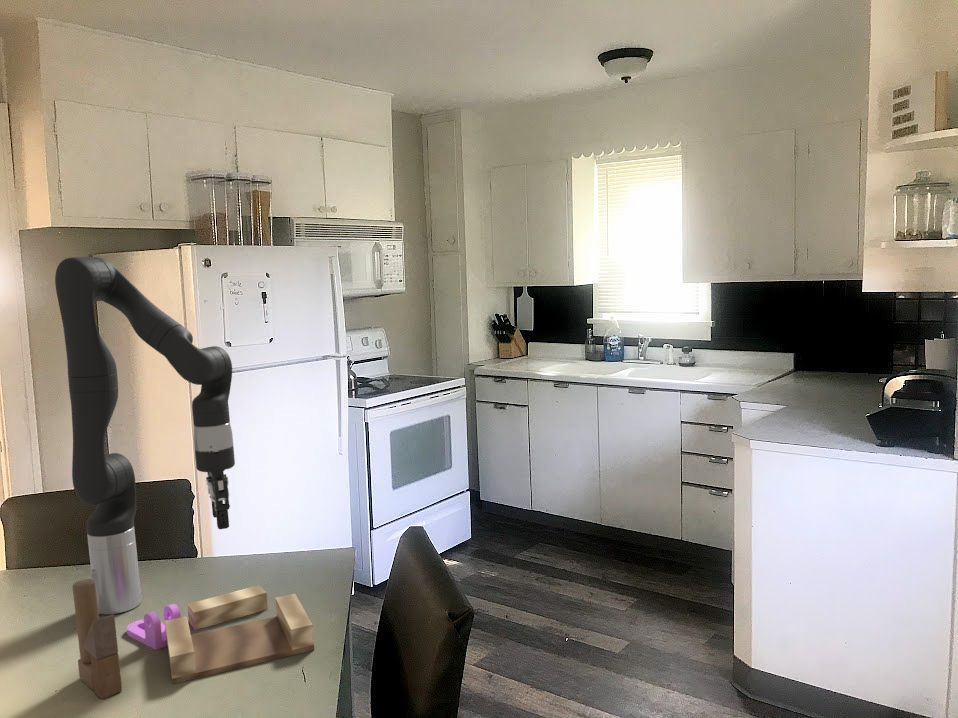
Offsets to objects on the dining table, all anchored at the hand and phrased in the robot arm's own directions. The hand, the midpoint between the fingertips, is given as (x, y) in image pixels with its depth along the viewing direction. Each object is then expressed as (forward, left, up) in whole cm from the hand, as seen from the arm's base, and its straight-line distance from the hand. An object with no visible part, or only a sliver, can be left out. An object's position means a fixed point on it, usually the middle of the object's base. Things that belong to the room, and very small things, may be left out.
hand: (220, 522), depth 163 cm
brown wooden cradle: (0, -16, -20) cm, 26 cm away
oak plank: (0, 0, -20) cm, 20 cm away
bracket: (-15, -2, -21) cm, 25 cm away
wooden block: (-24, -18, -20) cm, 36 cm away
